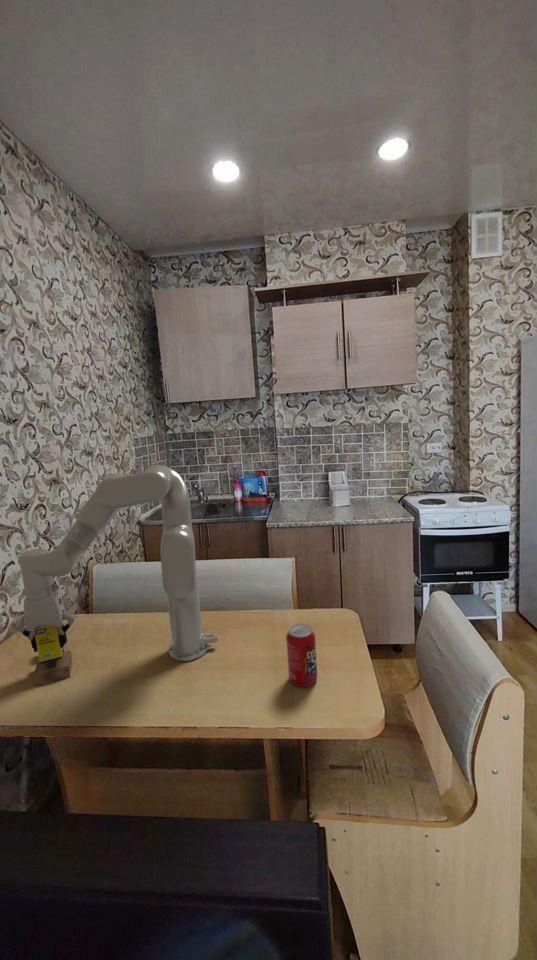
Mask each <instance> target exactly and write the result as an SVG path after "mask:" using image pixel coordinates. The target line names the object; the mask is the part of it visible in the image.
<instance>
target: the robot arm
mask: <svg viewBox="0 0 537 960" xmlns="http://www.w3.org/2000/svg"><path fill="white" fill-rule="evenodd" d="M159 500H160V502H161V504H160V505H161V516H162V535H161V538H160V539H161V540H160V546H159V547H160V550H159V552H160V553H159V554H160V564H161V565H160V566H161V568H160V569H161V580H162V581H161V582H162V588H163V591H164V592H165V594H166V598H167V606H168V607H167V608H168V617H169V624H170V632H171V641H172V643H171V644H170V645H169V647H168V656H169V657H170V658H171V659H172V660H174V661H177V662H188V661H189V662H190V661H194V660H197V659H198V658H201V657H202V656H204V655H205V654H206V653H207V652H208V650H209V646H210V645H209V644H212V643H213V644H214V643H217V642H219V640H218V635H214V633H213V632H211V633H207V634H206V633H204V629H203V626H202V617H201V615H202V614H201V605H200V597H199V587H198V586H199V585H198V576H197V575H198V574H197V567H196V566H197V565H196V547H195V545H196V544H195V543H196V542H195V536H194V535H195V534H194V531H193V525H192V524H193V522H192V521H193V520H192V519H193V518H192V508H191V497H190V494H189V489H188V487H187V484H186V482H185V481H184V479H183V478H182V476H181V474H179V473H178V472H177V471H176V470H174V469H173V468H171V467H169V466H166V465H164V464H152V465H150V466H149V467H147V468H145V470H144V471H143V472H139V473H134V474H129V475H124V474H121V473H115V472H114V473H111V474H109V475H108V474H107V476H105V477H103V479H102V480H101V481H100V482H99V483H98V484H97V486H96V489H95V491H93V493H92V494H91V496H90V498H89V499H88V500H87V501H86V503H85V504H84V505H83V506H82V508H81V509H80V510H79V512H78V513H77V517H76V520H75V522H74V524H73V525H72V527H71V529H70V530H69V531H68V532H67V534H65V536H64V537H63V539H62V541H61V542H60V543H59V544H58V545H57V546H56V547H55V548H54V549H53V550H52V551H50V552H49V551H48V550H47V549H46V548H45V549H44V548H33V549H28V550H26V551H24V552H22V553H21V554H20V556H19V558H18V561H19V566H20V571H21V577H22V581H23V589H24V593H25V597H24V599H23V620H22V621H21V622H20V624H19V625H18V626H17V627H16V631H18V632H19V633H21V634H22V635H23V636H24V637H26V638H27V639H28V640H29V641H30V644H31V648H32V649H33V651H34V653H38V650H37V644H36V639H35V634H34V629H35V628H40V627H47V626H54V625H56V626H57V629H58V632H59V633H60V635H59V642H60V647H61V648H64V647H65V645H66V644H67V642H68V636H67V633H66V632H68V630H69V629H70V627H71V626H72V625H73V624H74V622H75V620H76V617H74V616H72V615H70V614H68V613H67V612H66V610H65V606H64V602H63V599H62V597H61V594H60V592H59V590H60V589H61V587H60V585H59V584H58V585H57V584H56V583H55V581H54V577H63V576H67V575H68V574H70V573H72V571H73V570H74V568H76V565H77V564H78V562H79V561H80V560H81V558H82V557H83V556H84V554H85V553H86V551H87V550H88V549H89V548H90V546H91V545H92V543H93V542H94V541H95V540H96V538H97V537H98V536H99V535H100V534H101V533H102V532H104V530H106V528H107V527H108V525H109V524H110V523H111V521H112V520H113V518H114V517H115V515H117V513H118V512H119V510H120V509H123V508H128V507H133V506H138V505H142V504H143V505H144V504H147V503H153V502H156V501H159ZM63 621H67V623H66V624H65V623H64V622H63Z"/></svg>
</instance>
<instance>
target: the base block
mask: <svg viewBox="0 0 537 960" xmlns="http://www.w3.org/2000/svg"><path fill="white" fill-rule="evenodd" d="M37 658H38V659H37V662H36V666H35V670H34V674H33V678H34V681H35V687H39V686H43V685H46V684H50V683H54V682H58V681H61V680H65V679H68V678H71V673H72V666H73V657H72V650H71V649H68V650H64V652H63V653H62V659H59V660H55V661H51V662H47V663H43V664H40V661H39V657H37Z"/></svg>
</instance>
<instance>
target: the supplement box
mask: <svg viewBox="0 0 537 960" xmlns="http://www.w3.org/2000/svg"><path fill="white" fill-rule="evenodd" d="M34 634H35V639H36V644H37V650H38V651H37V655H38V658H39V661H40V664H43V663H47V662H51V661H55V660H59V659H62V653H63V648H64V647H63V648H61V647H60V642H59V635H60V633H59V632H58V629H57V626H56V625H54V626H47V627H40V628H35V629H34Z"/></svg>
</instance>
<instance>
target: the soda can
mask: <svg viewBox="0 0 537 960" xmlns="http://www.w3.org/2000/svg"><path fill="white" fill-rule="evenodd" d="M287 631H288V632H286V637H285V638H286V639H285V641H286V657H287V658H286V659H287V669H288V670H287V671H288V679H289V681H290V682H291V683H292V684H293V685H295V686H298V687H308V686H310V685H313V684H314V683H315V682H316V681H317V678H318V666H317V665H318V663H317V648H316V647H317V644H316V635H315V632H314V631H313V628H312V627H311V626H310V625H309V624H304V623H298V624H297V623H296V624H293V625H291V626H290V627H289V628H288V630H287Z"/></svg>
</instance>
